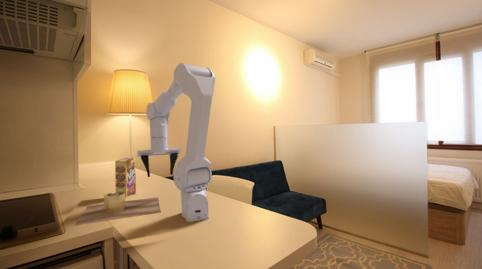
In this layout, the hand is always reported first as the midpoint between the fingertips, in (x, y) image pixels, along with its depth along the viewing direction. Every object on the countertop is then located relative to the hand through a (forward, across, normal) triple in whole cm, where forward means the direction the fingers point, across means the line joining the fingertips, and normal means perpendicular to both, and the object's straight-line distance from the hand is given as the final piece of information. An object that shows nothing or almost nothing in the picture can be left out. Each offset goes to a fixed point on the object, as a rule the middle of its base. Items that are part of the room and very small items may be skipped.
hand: (160, 175), depth 85 cm
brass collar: (+8, +14, +6) cm, 18 cm away
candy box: (+10, +12, -12) cm, 20 cm away
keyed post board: (+10, +12, +6) cm, 17 cm away
